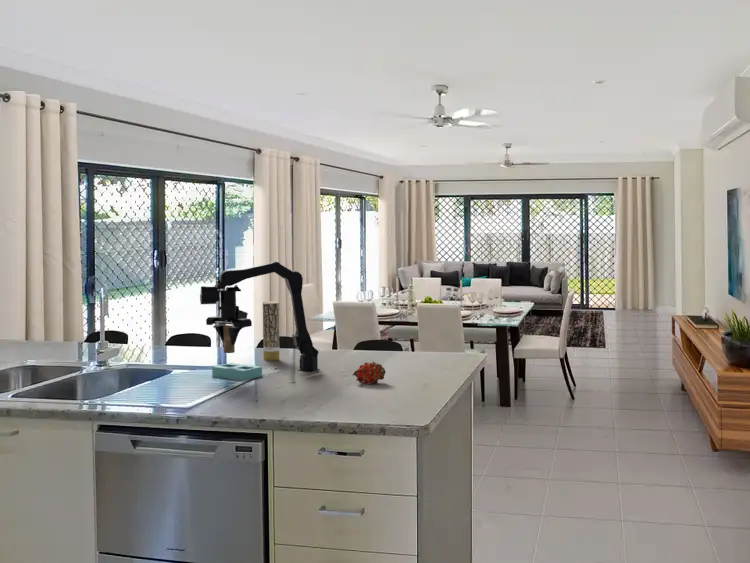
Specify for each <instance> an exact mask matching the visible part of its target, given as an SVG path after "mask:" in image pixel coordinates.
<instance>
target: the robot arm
mask: <svg viewBox="0 0 750 563" xmlns="http://www.w3.org/2000/svg"><path fill="white" fill-rule="evenodd" d="M273 273H275V274H277V275H278V276H280V277H281V278H283V279H284V282H285V284H286V288H287V290H288V292H289V295H290V298H291V299H290V300H291V306H292V311H293V312H292V314H293V317H294V325H295V333H294V334H291V337H292V340H293V342H292V343H293V344H292V345H294V346H295V348H296V349H297V351H299V353H300V355H299V369H297V371H300V372H307V373H308V372H309V373H312V372H315V371H320V370H321V369H320V368H318V367H319V366H318V365H319V363H318V362H319V358H318V355H319V350H317V349H316V347H315V346H314V343H313V341H312V337H311V335H310V333H309V331H308V327H307V322H306V316H305V315H306V314H305V309H304V302H303V297H302V292H303V274H302V273H300V272H299V271H296V270H291V269H289V268H288V267H286V266H285V265H283V264H281V263H280V262H278V261H272V262H268V263H264V264H261V265H256V266H251V267H247V268H243V269H242V268H241V269H226V270H225V269H224V270H223V271H221V273H220V274H219V279H218V280H217V282H216V283H215V285H214V286H205V285H203V286H200V294H199V302H200V305H216V304H217V302H220V306H218V307H217V309H218V310H220V316H218V315H217V316H216V315H215V316H208V317H207V318H206V319H205V322H206V326H207V325H208V326H212V327H213V328H214V329H215V330H216V332H217V333H218V336H219V338H220V340H221V341H222V343H223V345H224V331H223V326H228V325H232V327H229V334H230V339H231V343H232V345H235V344H236V342H237V339H238V335H239V333H240V331H242V329H243V328H248V327H252V325H253V322H252V320H251V318H248V314H249V313H248V312H247V311H243V310H241V309H240V306H239V305H237V292H241V291H242V289H241V288H240V287H238V284H239V283H241V282H242V281H245V280H246V279H251V278H257V277H259V276H263V275H268V274H273Z"/></svg>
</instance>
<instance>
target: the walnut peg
mask: <svg viewBox="0 0 750 563" xmlns="http://www.w3.org/2000/svg"><path fill="white" fill-rule="evenodd" d="M227 325H228V326H223V331H224V344H223V353H224V354H232V353H233V354H235V352H236V351H235V350H236V349H235V347H236V346H235V345H232V343H231V339H230V334H229V327H232V325H231V324H227Z"/></svg>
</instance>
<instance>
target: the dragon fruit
mask: <svg viewBox="0 0 750 563" xmlns="http://www.w3.org/2000/svg"><path fill="white" fill-rule="evenodd" d="M386 373H387V372H386V369H385V367H383V365H382V364H381V363H376V362H374V361H372V362H370V363H369V362H364V363H363V364H361V365H359V367H358V368H357V369H356V370H354V372H353V373H352V377H354V376H355V377H356V381H357V382H359V383H360V384H363V385H364V384H365V385H366V384H368V385H371V384H378V382H379V380H381V381H382V380H384V379H385V377H384V376H385V374H386Z"/></svg>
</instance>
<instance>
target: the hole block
mask: <svg viewBox="0 0 750 563" xmlns="http://www.w3.org/2000/svg"><path fill="white" fill-rule="evenodd" d="M211 368H212V369H211V370H212V371H211V372H212V374H211V375H212V377H216V378H224V379H231V380H237V381H247V380H252V379H255V378H259V377H262V376H263V375H262V368H263V367H262V366H259V365H251V364H241V363H233V362H227V363H224V364H219V365H215V366H212V367H211Z"/></svg>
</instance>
